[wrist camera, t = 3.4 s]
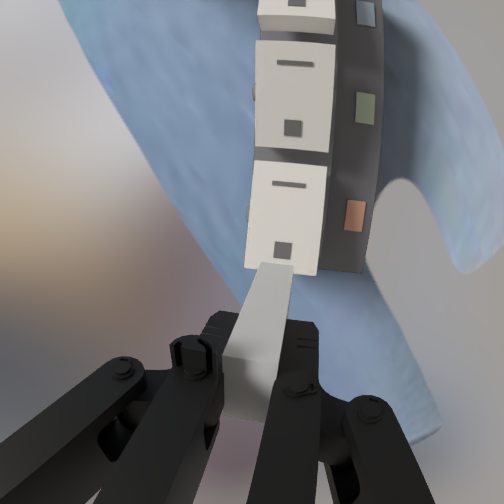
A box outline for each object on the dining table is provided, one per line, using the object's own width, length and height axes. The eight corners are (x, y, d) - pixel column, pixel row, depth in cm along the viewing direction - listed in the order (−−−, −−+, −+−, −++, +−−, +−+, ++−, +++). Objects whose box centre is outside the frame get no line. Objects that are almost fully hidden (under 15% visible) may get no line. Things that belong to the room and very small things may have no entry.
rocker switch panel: (273, -8, 18) (261, -43, 12) (368, 1, 16) (381, -32, 11) (259, 238, 26) (245, 267, 20) (352, 248, 24) (364, 280, 19)
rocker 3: (255, 165, 18) (250, 159, 16) (328, 171, 17) (330, 166, 15) (245, 263, 18) (240, 267, 17) (318, 271, 18) (319, 276, 16)
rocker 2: (257, 42, 14) (251, 40, 12) (336, 47, 13) (339, 45, 12) (256, 139, 17) (251, 146, 16) (330, 145, 16) (332, 153, 15)
